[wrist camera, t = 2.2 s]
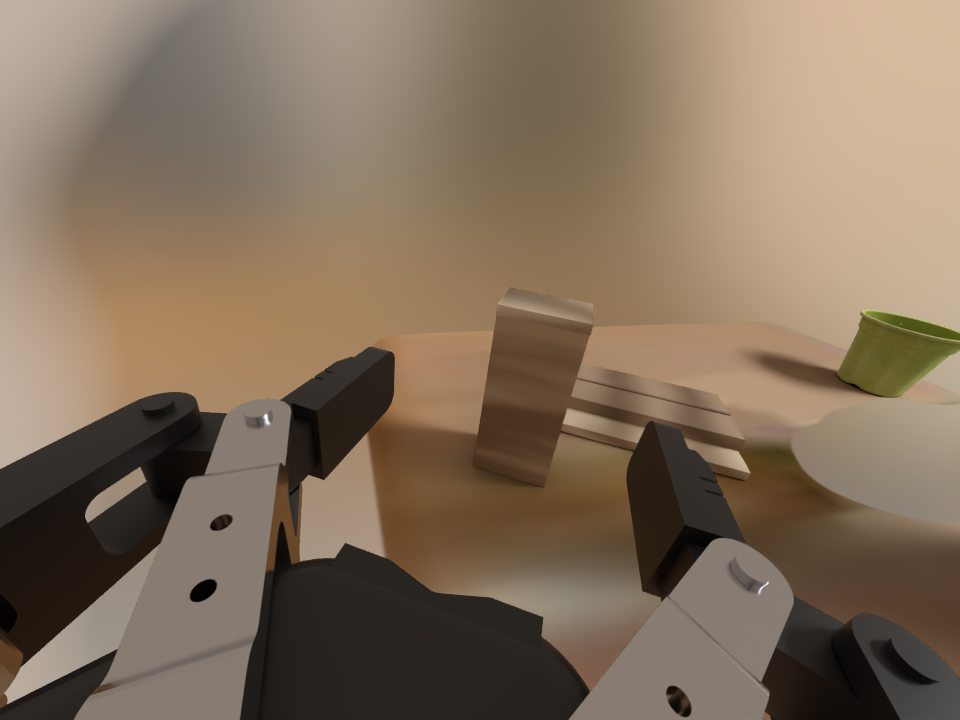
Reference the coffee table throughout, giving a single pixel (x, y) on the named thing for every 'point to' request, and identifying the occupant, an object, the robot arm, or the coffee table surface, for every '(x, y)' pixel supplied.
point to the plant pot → (895, 352)
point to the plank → (530, 382)
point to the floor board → (653, 416)
